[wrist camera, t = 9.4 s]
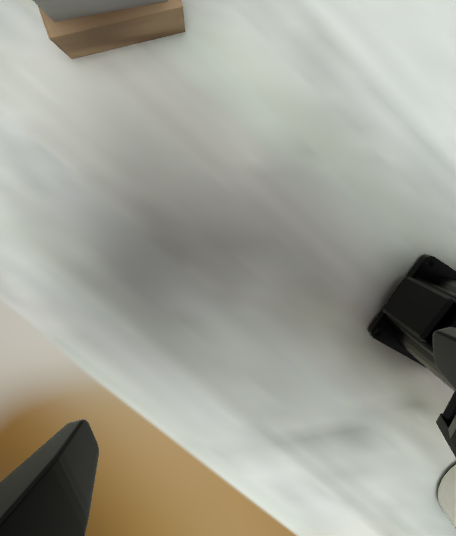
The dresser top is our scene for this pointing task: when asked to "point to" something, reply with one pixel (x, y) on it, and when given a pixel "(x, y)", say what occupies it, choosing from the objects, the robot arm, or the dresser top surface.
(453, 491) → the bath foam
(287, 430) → the dresser top surface
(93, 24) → the walnut base block
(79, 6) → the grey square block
